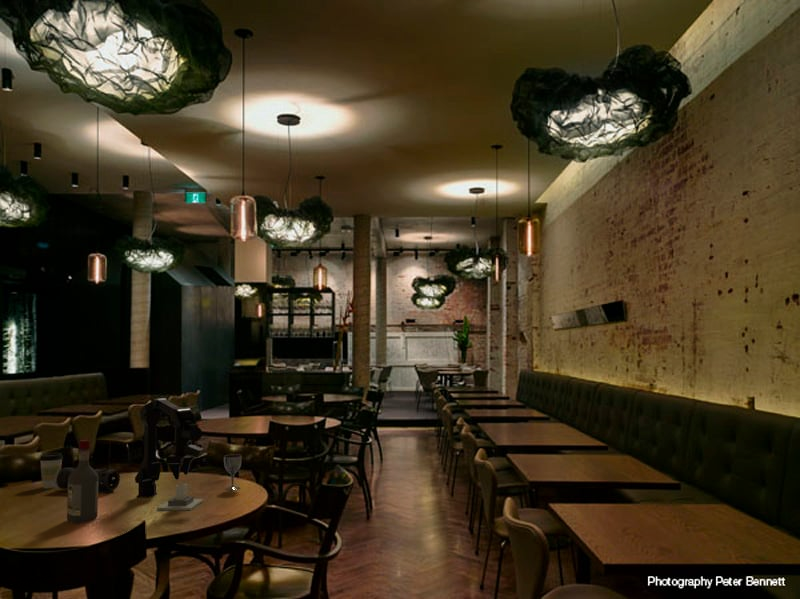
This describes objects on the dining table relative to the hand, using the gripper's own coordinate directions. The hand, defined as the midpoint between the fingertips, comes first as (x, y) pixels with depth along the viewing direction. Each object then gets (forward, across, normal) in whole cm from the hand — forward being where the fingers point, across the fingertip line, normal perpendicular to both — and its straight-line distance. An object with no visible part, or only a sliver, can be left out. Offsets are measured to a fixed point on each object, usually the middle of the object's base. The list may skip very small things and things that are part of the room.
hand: (181, 477), depth 257 cm
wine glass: (+12, +30, -12) cm, 34 cm away
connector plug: (+11, 0, 0) cm, 11 cm away
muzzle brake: (+12, +24, +54) cm, 60 cm away
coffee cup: (+12, +32, +76) cm, 83 cm away
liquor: (+12, -21, +30) cm, 39 cm away
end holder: (+12, 0, 0) cm, 12 cm away
